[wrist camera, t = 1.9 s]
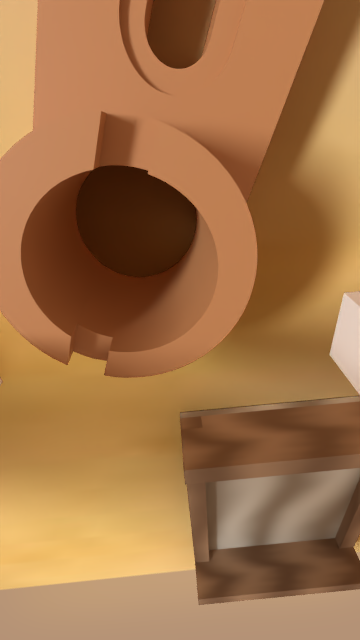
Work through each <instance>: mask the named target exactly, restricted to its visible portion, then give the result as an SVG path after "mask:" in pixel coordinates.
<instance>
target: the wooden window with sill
mask: <svg viewBox="0 0 360 640" xmlns="http://www.w3.org/2000/svg"><path fill="white" fill-rule="evenodd" d="M180 422H181V436H182V451H183V465H184V476H185V484H187V490H188V499H189V509H190V518H191V527H192V537H193V546H194V555H195V566H196V578H197V590H198V601H199V605H204V604H214V603H224V602H234V601H244V600H254V599H265V598H275V597H284V596H295V595H305V594H315V593H325V592H335V591H346V590H355V589H360V560H359V558H358V556H357V554H356V552H355V550H354V548H353V547H354V545H355V543H356V541H357V539H358V537H359V535H360V396H354V397H343V398H333V399H322V400H311V401H300V402H290V403H279V404H268V405H257V406H247V407H236V408H225V409H214V410H204V411H193V412H182V413H180Z"/></svg>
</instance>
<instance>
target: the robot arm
mask: <svg viewBox="0 0 360 640" xmlns="http://www.w3.org/2000/svg"><path fill="white" fill-rule="evenodd" d="M329 355H330V356H331V357H332V359H333V360H334V361H335V363H336V364H337V365H338V367H339V368H340V369H341V371H342V372H343V373H344V375H345V376H346V377H347V379H348V380H349V381H350V383H351V384H352V385H353V387H354V388H355V389H356V391H357V392H358V393H359V395H360V291H358V292H346V293H344V295H343V299H342V304H341V308H340V312H339V316H338V320H337V325H336V329H335V333H334V337H333V342H332V346H331V350H330V354H329ZM2 382H3V381H2V379H1V377H0V385H1V383H2Z"/></svg>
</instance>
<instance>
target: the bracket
mask: <svg viewBox="0 0 360 640" xmlns="http://www.w3.org/2000/svg"><path fill="white" fill-rule="evenodd" d="M153 1H154V0H38V14H37V40H36V65H35V91H34V117H33V131H32V132H30V133H28V134H27V135H26V136H24V137H23V138H22V139H20V140H19V141H18V142H17V143H15V144H14V145H13V146H12V147H11V148H10V149H9V150H8V151H7V152H6V154H5V155H4V156H3V157H2V158H1V159H0V311H1V312H2V314H3V315H4V316H5V318H6V319H7V320H8V321H9V323H10V324H11V325H12V326H13V327H14V328H15V329H16V330H17V331H18V332H19V333H20V334H21V335H22V336H23V337H24V338H25V339H26V340H28V341H29V342H30V343H31V344H32V345H34V346H35V347H37V348H38V349H39V350H41V351H42V352H44V353H45V354H47V355H49V356H50V357H52V358H54V359H56V360H58V361H60V362H62V363H64V364H66V365H68V363H69V360H70V358H71V355H72V353H73V351H74V352H77V353H79V354H81V355H84V356H88V357H91V358H94V359H100V360H105V361H107V364H106V369H105V373H104V375H106V376H112V377H126V378H128V377H145V376H152V375H157V374H162V373H166V372H169V371H173V370H175V369H178V368H180V367H183V366H185V365H187V364H189V363H191V362H193V361H195V360H197V359H199V358H200V357H202V356H204V355H205V354H206V353H208V352H209V351H210V350H212V349H213V348H214V347H215V346H217V345H218V344H219V343H220V342H221V341H222V340H223V339H224V338H225V337H226V336H227V335H228V334H229V332H230V331H231V330H232V329H233V327H234V326H235V325H236V323H237V322H238V320H239V319H240V317H241V315H242V313H243V312H244V310H245V308H246V305H247V303H248V301H249V299H250V296H251V293H252V290H253V286H254V281H255V277H256V269H257V241H256V234H255V229H254V225H253V221H252V217H251V214H250V211H249V209H248V206H247V201H248V198H249V195H250V193H251V190H252V188H253V185H254V182H255V180H256V177H257V175H258V172H259V169H260V167H261V164H262V161H263V159H264V156H265V154H266V151H267V148H268V146H269V143H270V141H271V138H272V135H273V133H274V130H275V128H276V125H277V122H278V120H279V117H280V115H281V112H282V109H283V107H284V104H285V101H286V99H287V96H288V94H289V91H290V88H291V86H292V83H293V81H294V78H295V75H296V73H297V70H298V68H299V65H300V62H301V60H302V57H303V55H304V52H305V49H306V47H307V44H308V42H309V39H310V36H311V34H312V31H313V28H314V26H315V23H316V21H317V18H318V15H319V13H320V10H321V8H322V5H323V2H324V0H216V3H215V7H214V11H213V14H212V18H211V22H210V26H209V30H208V34H207V38H206V42H205V46H204V50H203V54H202V57H201V58H200V59H199V60H198V61H197V62H196V63H195V64H193V65H192V66H190V67H187V68H183V69H174V68H171V67H168V66H166V65H164V64H163V63H162V62H161V61H159V60H158V59H157V57H156V56H155V55H154V54H153V52H152V50H151V48H150V46H149V44H148V41H147V35H148V29H149V23H150V18H151V12H152V6H153ZM109 165H123V166H131V167H136V168H140V169H144V170H148V174H149V175H151V176H154V177H156V178H158V179H160V180H162V181H164V182H166V183H168V184H169V185H171V186H172V187H174V188H175V189H177V190H178V191H179V192H181V193H182V194H183V195H184V196H185V197H187V198H188V199H189V200H190V202H191V203H192V204H193V205H194V206H195V208H196V230H195V235H194V238H193V241H192V243H191V246H190V247H189V249H188V251H187V252H186V254H185V255H184V257H183V258H182V259H181V260H180V261H179V262H178V263H177V264H176V265H174V266H173V267H171V268H170V269H168V270H166V271H164V272H162V273H160V274H157V275H153V276H148V277H132V276H126V275H123V274H119V273H117V272H114V271H112V270H111V269H109V268H107V267H106V266H104V265H103V264H101V263H100V262H99V261H98V260H97V259H96V258H95V257H94V256H93V255H92V254H91V253H90V252H89V250H88V249H87V247H86V246H85V244H84V242H83V240H82V238H81V236H80V233H79V230H78V226H77V221H76V203H77V198H78V194H79V191H80V188H81V186H82V184H83V182H84V181H85V179H86V178H87V176H88V175H89V174H90V173H91V171H92V170H93V169H95V168H97V167H100V166H109Z"/></svg>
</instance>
